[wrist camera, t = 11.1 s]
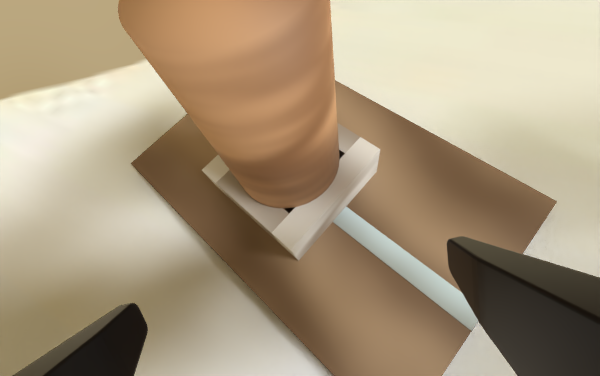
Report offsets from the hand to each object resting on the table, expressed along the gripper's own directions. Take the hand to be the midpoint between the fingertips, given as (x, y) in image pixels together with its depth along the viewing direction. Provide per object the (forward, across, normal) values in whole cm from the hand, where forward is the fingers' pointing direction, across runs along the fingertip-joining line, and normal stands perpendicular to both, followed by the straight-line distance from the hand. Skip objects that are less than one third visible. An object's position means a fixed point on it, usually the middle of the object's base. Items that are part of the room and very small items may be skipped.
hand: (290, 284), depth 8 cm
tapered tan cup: (+10, 0, 0) cm, 11 cm away
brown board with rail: (+11, -1, +1) cm, 11 cm away
